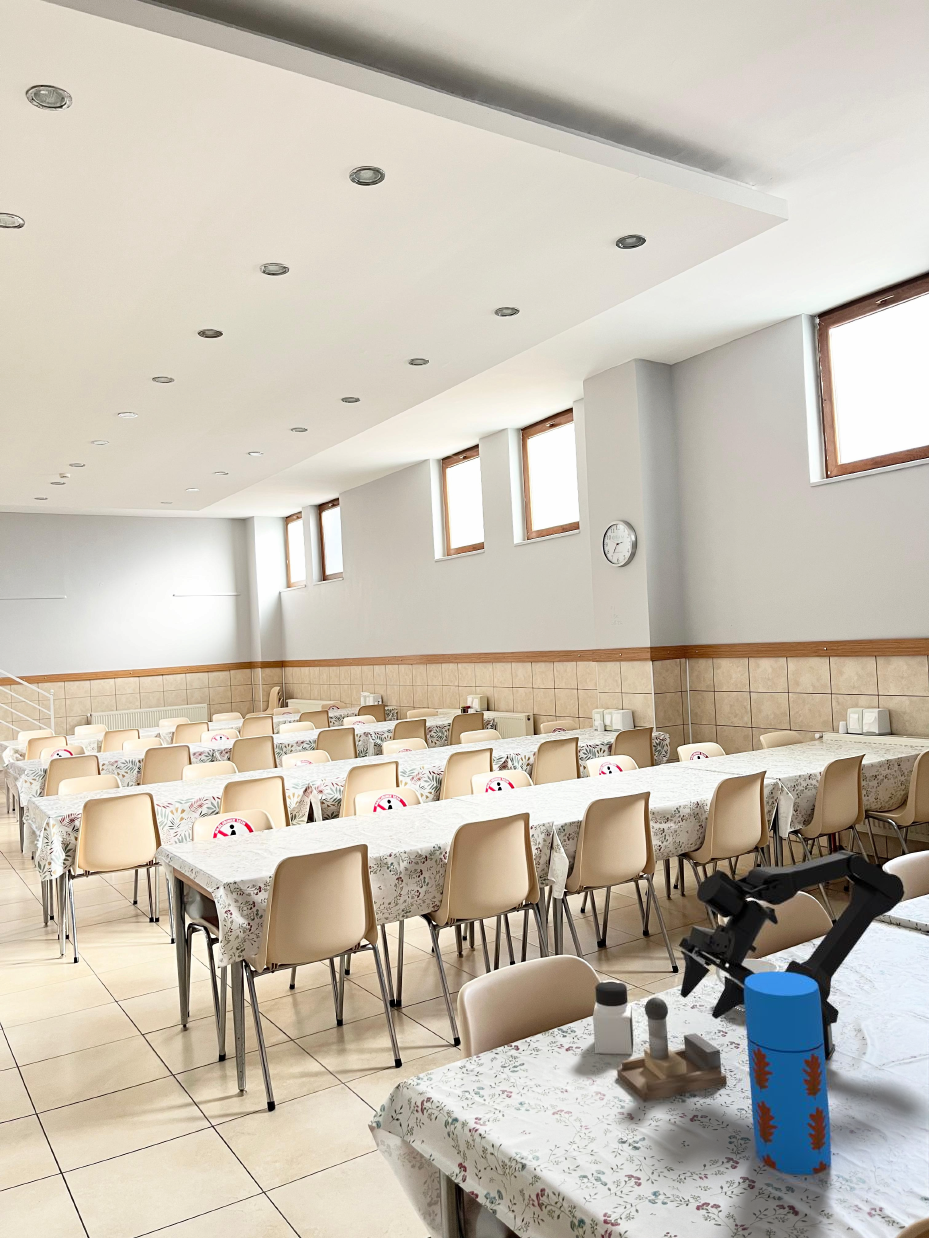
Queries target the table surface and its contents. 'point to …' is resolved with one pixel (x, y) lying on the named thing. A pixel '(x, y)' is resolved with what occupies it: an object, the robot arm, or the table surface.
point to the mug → (754, 966)
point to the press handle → (660, 1043)
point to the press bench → (700, 1075)
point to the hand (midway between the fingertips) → (697, 1006)
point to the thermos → (787, 1072)
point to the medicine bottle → (612, 1019)
